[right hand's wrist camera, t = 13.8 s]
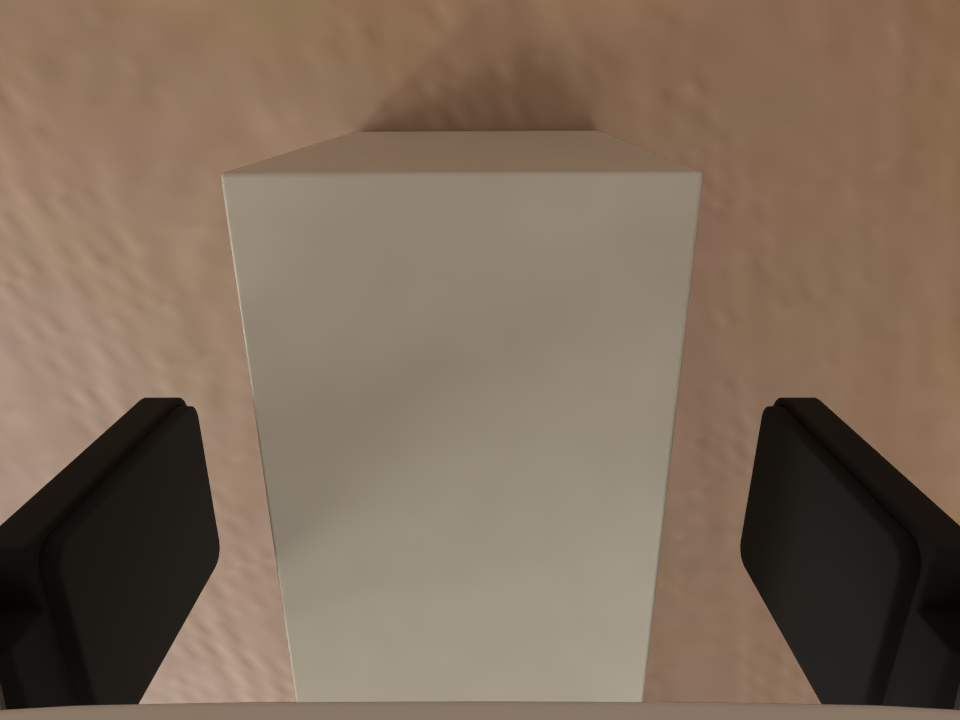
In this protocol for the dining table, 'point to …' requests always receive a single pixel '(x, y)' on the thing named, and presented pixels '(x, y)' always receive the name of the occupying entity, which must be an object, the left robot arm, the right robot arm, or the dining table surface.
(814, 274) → the dining table surface
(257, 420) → the bar
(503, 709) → the right robot arm
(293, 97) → the dining table surface
